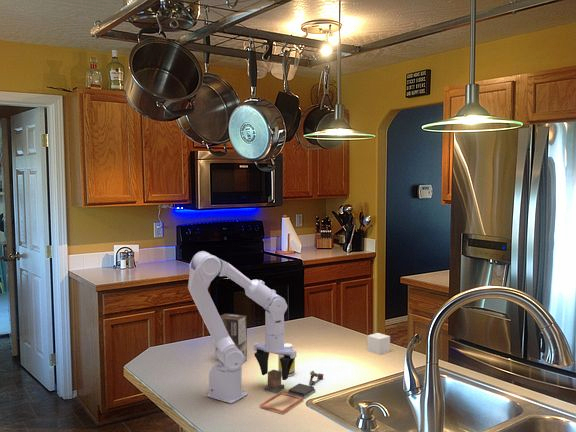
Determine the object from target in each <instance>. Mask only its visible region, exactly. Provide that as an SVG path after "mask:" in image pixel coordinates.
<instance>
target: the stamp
mask: <svg viewBox="0 0 576 432" xmlns="http://www.w3.org/2000/svg"><path fill="white" fill-rule="evenodd" d="M284 389H285V384H282V376H281V371H278V369H271V370H269V371H268V372H267V385H265V386H264V391H267V392H268V393H269V392H270V393H274V394H279V393H281V391H283V390H284Z"/></svg>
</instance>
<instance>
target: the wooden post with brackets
mask: <svg viewBox="0 0 576 432" xmlns="http://www.w3.org/2000/svg"><path fill="white" fill-rule="evenodd" d="M309 375H310V379H309V382H308V383H309V384H308V386H313V385H316V381H315V380H314V377H315V378H317V379H318V380H322V381H323V380H324V375H325V374H324V373H315V371H314V370H311V371H310V373H309Z"/></svg>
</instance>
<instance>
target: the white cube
mask: <svg viewBox="0 0 576 432" xmlns="http://www.w3.org/2000/svg"><path fill="white" fill-rule="evenodd" d="M366 338H367V340H366V341H367V342H366V343H367V344H366V345H367V347H366V348H367V349H366V350H367V352H369V353H373V354H376V355H379V356H380V355H384V354H387V353H390V352H391V335H387V334H383V333H380V332H376V333H375V332H374V333H371V334H369V335H367V337H366Z"/></svg>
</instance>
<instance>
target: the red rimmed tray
mask: <svg viewBox="0 0 576 432" xmlns="http://www.w3.org/2000/svg"><path fill="white" fill-rule="evenodd" d="M303 402H304V399H302V398H300V397H296V396H293V395H289V394H287V393H286V392H285V393H284V392H278V393H276V394H275V395H274V396H272V397H271V398H269V399H267V400H265V401H264V402H262V403H260V404H259V409H262V410H266V411H269V412H272V413H276V414H281V415H285V414H286V413H288V412H289V411H291V410H292V409H293V408H295V407H297V406H298V405H300V404H301V403H303Z"/></svg>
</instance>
